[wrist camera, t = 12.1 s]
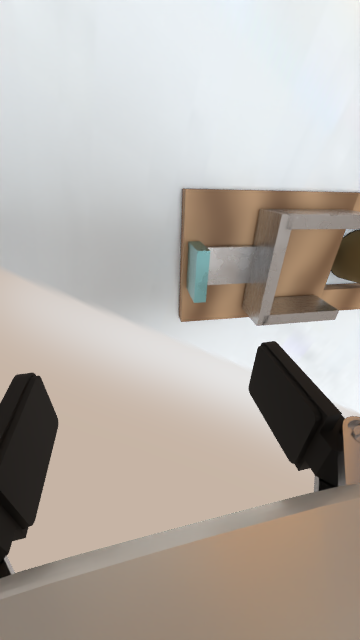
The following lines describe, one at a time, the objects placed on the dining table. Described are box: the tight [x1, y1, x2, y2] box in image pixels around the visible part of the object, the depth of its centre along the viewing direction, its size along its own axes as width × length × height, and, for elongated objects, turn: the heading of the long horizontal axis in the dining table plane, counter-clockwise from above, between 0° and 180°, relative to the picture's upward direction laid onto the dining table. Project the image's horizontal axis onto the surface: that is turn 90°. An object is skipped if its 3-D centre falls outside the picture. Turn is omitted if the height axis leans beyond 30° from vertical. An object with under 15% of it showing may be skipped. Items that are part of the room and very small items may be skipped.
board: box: [179, 189, 360, 322], centre depth 28 cm, size 28×14×2 cm, turn 89°
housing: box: [186, 209, 360, 326], centre depth 24 cm, size 17×11×4 cm, turn 89°
